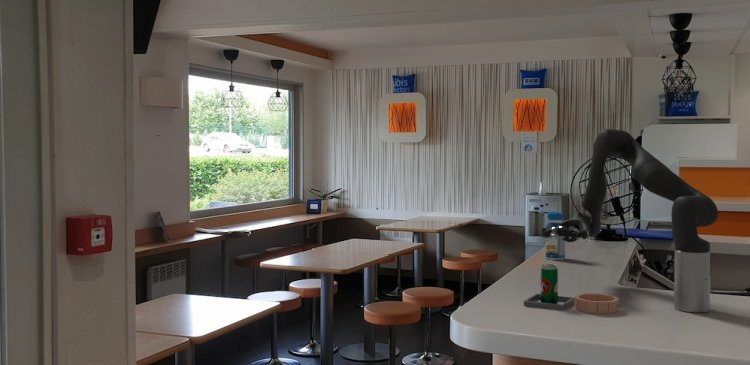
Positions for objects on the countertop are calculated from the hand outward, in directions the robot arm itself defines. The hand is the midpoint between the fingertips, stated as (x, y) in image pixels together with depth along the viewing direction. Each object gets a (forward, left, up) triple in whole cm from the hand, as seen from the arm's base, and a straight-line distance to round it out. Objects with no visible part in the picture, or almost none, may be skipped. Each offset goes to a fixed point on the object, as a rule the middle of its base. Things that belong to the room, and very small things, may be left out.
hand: (559, 235), depth 212 cm
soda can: (0, +11, -20) cm, 23 cm away
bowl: (-14, +11, -20) cm, 27 cm away
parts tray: (0, +11, -20) cm, 23 cm away
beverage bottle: (+23, -75, -20) cm, 81 cm away
